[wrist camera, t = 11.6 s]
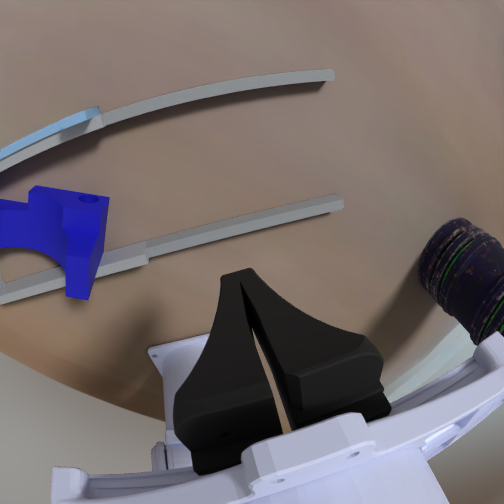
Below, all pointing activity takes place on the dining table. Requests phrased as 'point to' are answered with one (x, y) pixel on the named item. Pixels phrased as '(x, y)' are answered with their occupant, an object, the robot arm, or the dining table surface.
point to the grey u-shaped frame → (183, 239)
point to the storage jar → (466, 276)
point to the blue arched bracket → (59, 231)
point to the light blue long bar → (50, 130)
